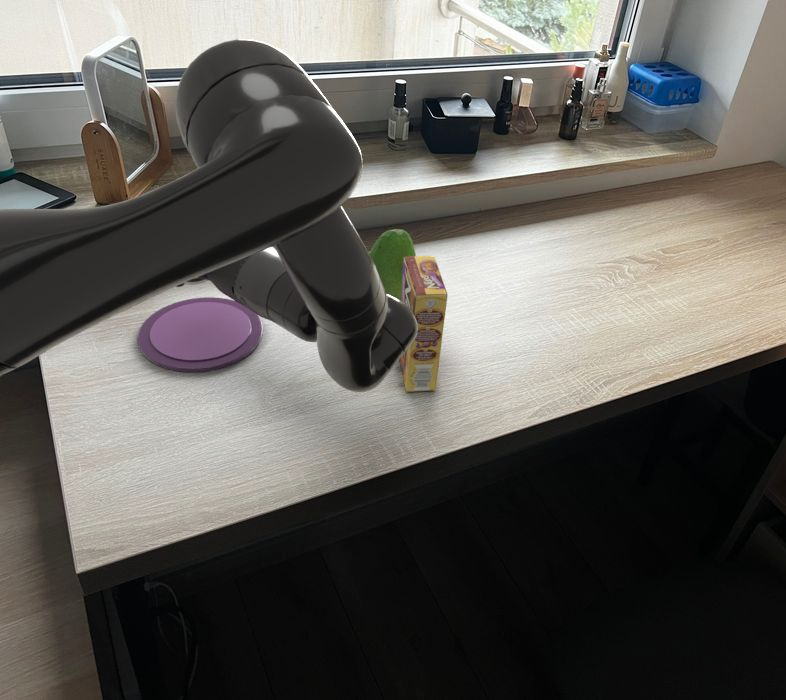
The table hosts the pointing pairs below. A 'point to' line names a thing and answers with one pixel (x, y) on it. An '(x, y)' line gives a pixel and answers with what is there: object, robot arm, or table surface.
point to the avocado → (392, 259)
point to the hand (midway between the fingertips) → (173, 226)
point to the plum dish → (200, 334)
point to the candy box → (423, 321)
